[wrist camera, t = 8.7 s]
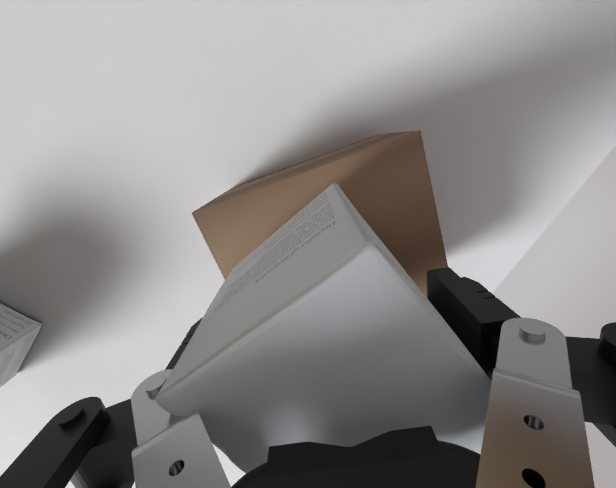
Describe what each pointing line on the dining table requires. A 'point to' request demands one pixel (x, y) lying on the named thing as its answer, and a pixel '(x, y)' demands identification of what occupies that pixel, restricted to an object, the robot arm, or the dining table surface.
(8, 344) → the supplement box
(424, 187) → the walnut block
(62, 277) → the dining table surface
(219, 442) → the skincare box
